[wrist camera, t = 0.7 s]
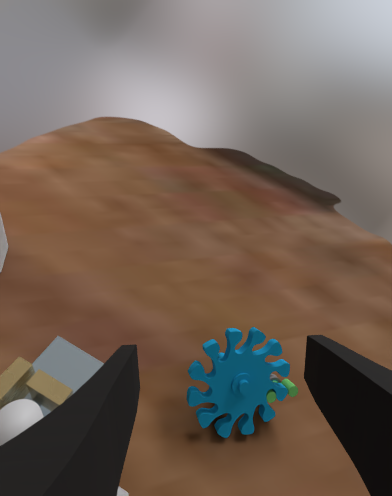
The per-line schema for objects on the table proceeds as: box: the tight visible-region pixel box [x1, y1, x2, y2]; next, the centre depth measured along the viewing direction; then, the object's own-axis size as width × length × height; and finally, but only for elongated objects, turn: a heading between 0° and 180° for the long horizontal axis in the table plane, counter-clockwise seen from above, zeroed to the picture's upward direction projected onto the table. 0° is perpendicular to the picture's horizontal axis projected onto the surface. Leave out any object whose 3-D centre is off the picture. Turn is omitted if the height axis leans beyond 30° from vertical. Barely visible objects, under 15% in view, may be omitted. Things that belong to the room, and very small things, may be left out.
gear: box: [187, 327, 298, 438], centre depth 26 cm, size 11×6×10 cm
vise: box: [0, 336, 129, 496], centre depth 17 cm, size 14×12×8 cm
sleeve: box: [0, 357, 73, 411], centre depth 16 cm, size 6×6×4 cm
